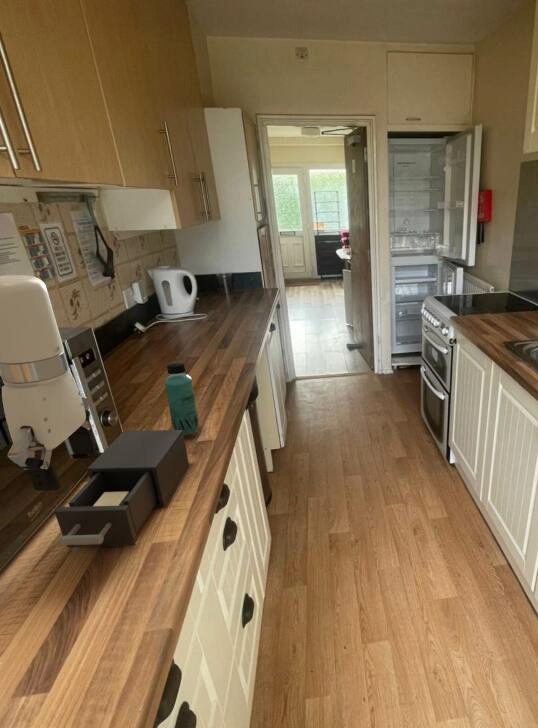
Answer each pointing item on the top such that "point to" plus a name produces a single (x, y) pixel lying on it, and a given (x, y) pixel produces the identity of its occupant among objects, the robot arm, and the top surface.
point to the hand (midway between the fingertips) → (67, 469)
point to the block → (112, 499)
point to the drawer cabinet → (147, 458)
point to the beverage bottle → (181, 399)
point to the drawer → (108, 510)
